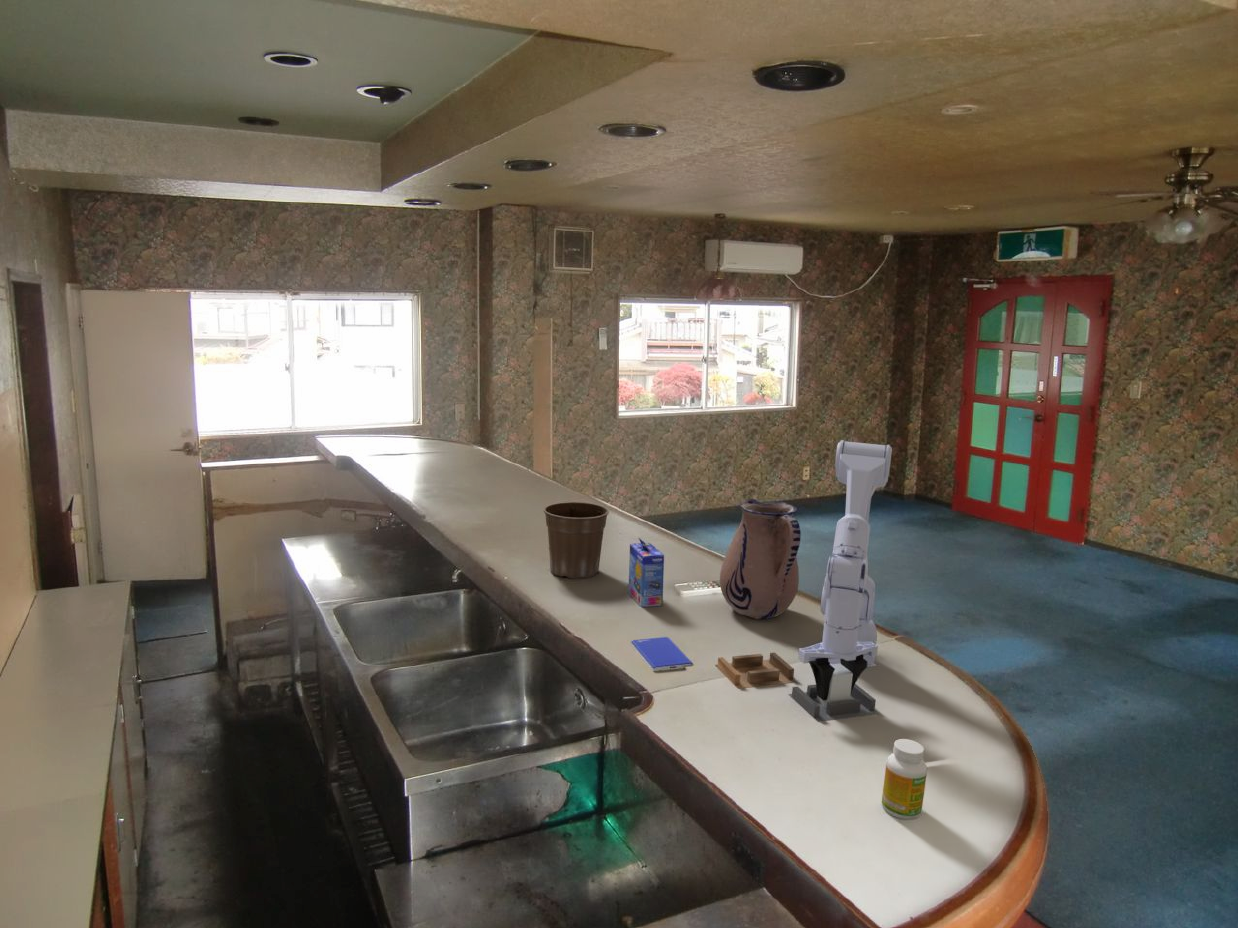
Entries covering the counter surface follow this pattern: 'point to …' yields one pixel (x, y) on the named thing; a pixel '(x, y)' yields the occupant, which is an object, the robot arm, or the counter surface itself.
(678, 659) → the hard drive
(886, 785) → the supplement bottle
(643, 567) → the ink cartridge box
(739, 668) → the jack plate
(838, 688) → the plug block
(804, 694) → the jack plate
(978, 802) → the counter surface
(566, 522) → the plant pot
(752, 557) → the ceramic pitcher
